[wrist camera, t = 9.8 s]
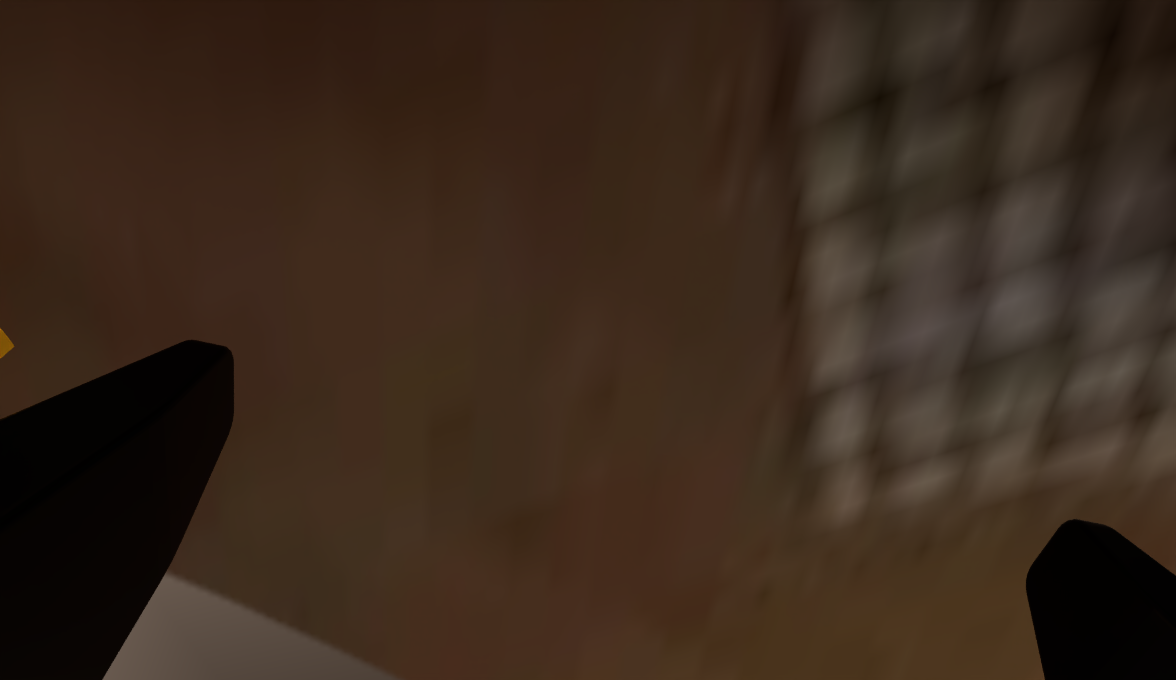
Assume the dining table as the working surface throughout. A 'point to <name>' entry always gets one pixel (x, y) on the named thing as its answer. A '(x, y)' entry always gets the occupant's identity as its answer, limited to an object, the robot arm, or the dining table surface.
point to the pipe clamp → (4, 344)
